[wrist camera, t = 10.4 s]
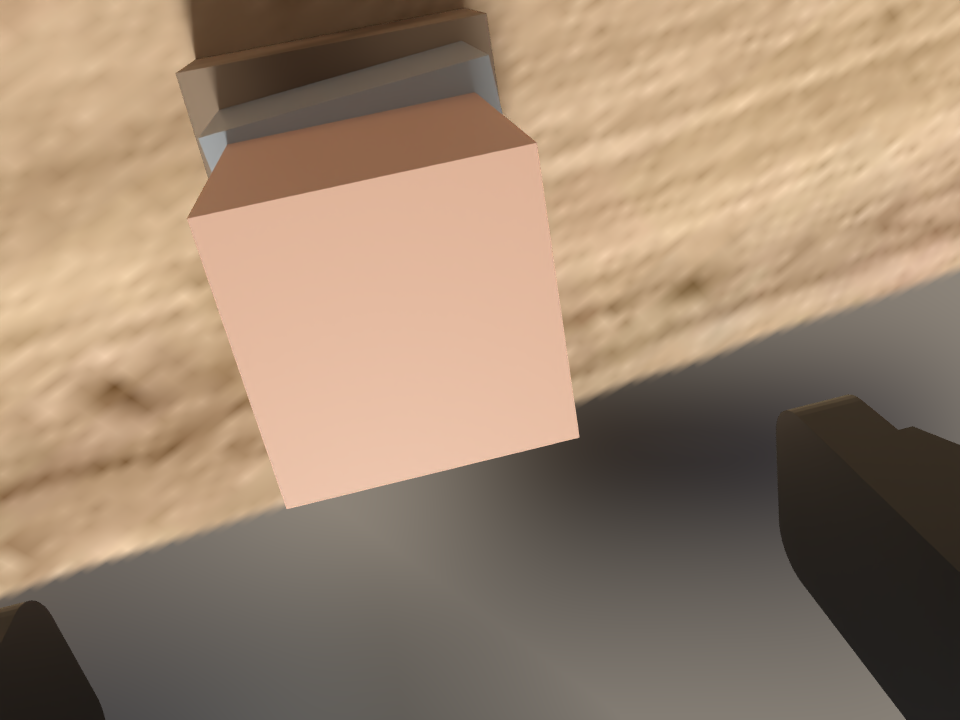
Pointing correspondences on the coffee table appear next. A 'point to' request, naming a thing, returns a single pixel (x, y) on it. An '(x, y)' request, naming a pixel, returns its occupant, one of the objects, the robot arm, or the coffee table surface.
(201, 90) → the tower base block
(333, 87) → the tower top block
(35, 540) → the coffee table surface
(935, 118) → the coffee table surface
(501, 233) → the terracotta block
